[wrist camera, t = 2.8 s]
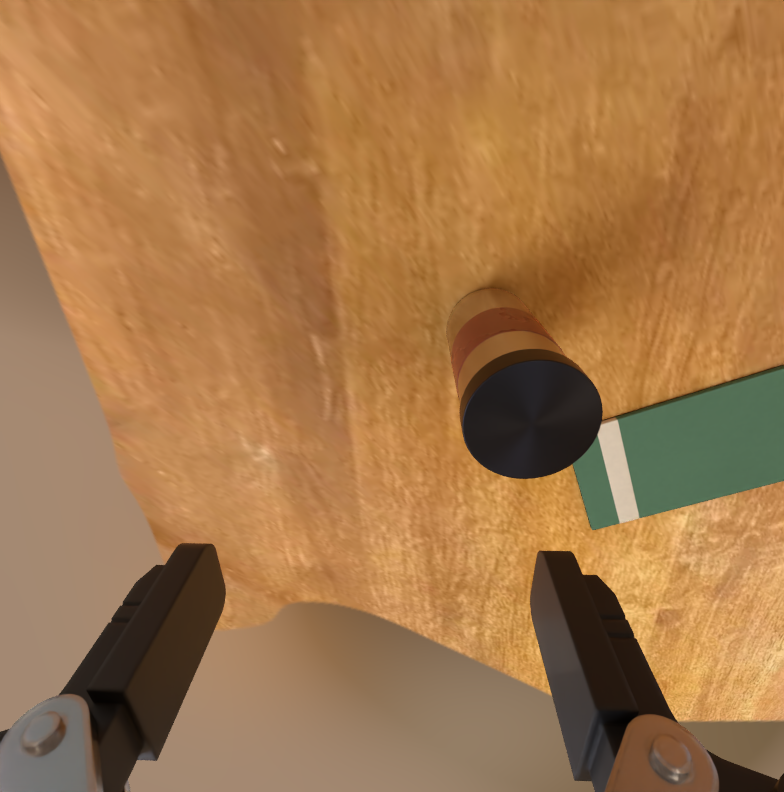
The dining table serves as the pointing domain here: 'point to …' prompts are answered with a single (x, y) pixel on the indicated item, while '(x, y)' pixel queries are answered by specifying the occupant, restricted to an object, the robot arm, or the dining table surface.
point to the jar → (518, 389)
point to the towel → (686, 450)
